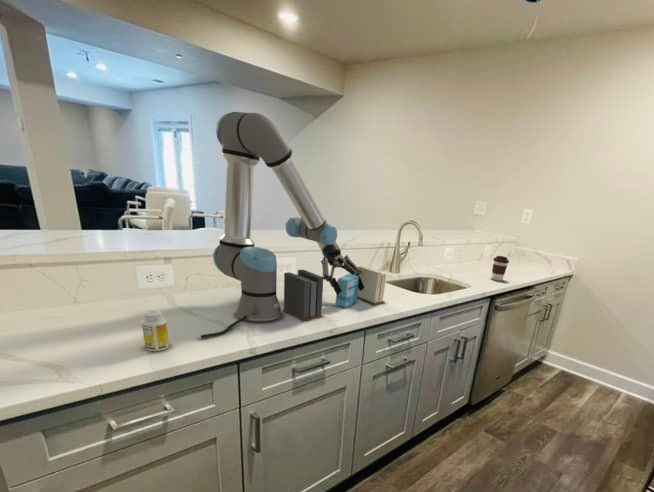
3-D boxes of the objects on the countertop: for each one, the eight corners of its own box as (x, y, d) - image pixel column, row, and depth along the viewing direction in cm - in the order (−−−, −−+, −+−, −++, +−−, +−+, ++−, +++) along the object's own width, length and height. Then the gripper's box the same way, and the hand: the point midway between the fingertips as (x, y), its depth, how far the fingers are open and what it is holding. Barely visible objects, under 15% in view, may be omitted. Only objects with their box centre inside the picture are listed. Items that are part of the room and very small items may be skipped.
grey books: (304, 320, 139) (305, 279, 133) (283, 310, 146) (283, 270, 140) (322, 316, 145) (324, 277, 139) (301, 307, 153) (302, 269, 147)
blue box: (345, 308, 158) (347, 280, 153) (335, 306, 159) (337, 278, 154) (356, 301, 169) (359, 275, 164) (347, 299, 170) (349, 273, 165)
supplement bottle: (170, 343, 109) (166, 309, 106) (167, 351, 105) (163, 316, 101) (147, 344, 107) (142, 309, 103) (143, 352, 103) (138, 316, 99)
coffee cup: (504, 282, 249) (509, 259, 243) (489, 279, 250) (494, 256, 244) (504, 279, 258) (509, 257, 252) (489, 276, 259) (494, 254, 253)
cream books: (374, 305, 167) (377, 273, 161) (353, 297, 174) (356, 266, 169) (384, 303, 172) (388, 271, 167) (364, 295, 179) (367, 264, 174)
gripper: (345, 251, 174) (366, 291, 172) (301, 254, 156) (323, 299, 153) (354, 241, 169) (376, 283, 167) (310, 243, 151) (333, 290, 148)
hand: (351, 291), depth 160 cm, fingers closed on blue box, 13 cm apart
